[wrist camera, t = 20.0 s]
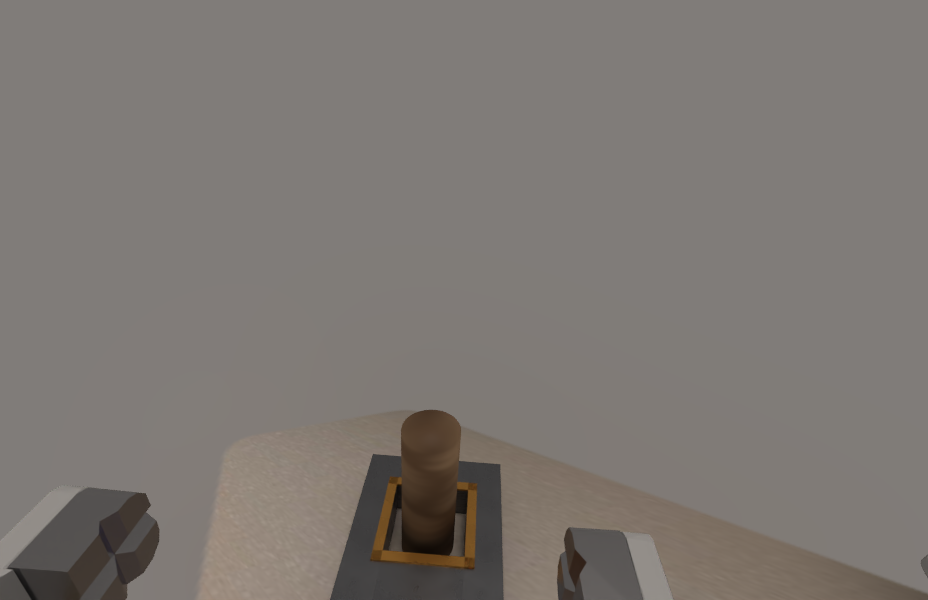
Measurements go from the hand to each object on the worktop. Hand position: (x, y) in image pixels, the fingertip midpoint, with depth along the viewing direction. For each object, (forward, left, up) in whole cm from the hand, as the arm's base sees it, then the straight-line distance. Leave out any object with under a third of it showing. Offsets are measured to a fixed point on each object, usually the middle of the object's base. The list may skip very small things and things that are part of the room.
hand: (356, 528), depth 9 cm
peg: (-7, -20, -30) cm, 36 cm away
